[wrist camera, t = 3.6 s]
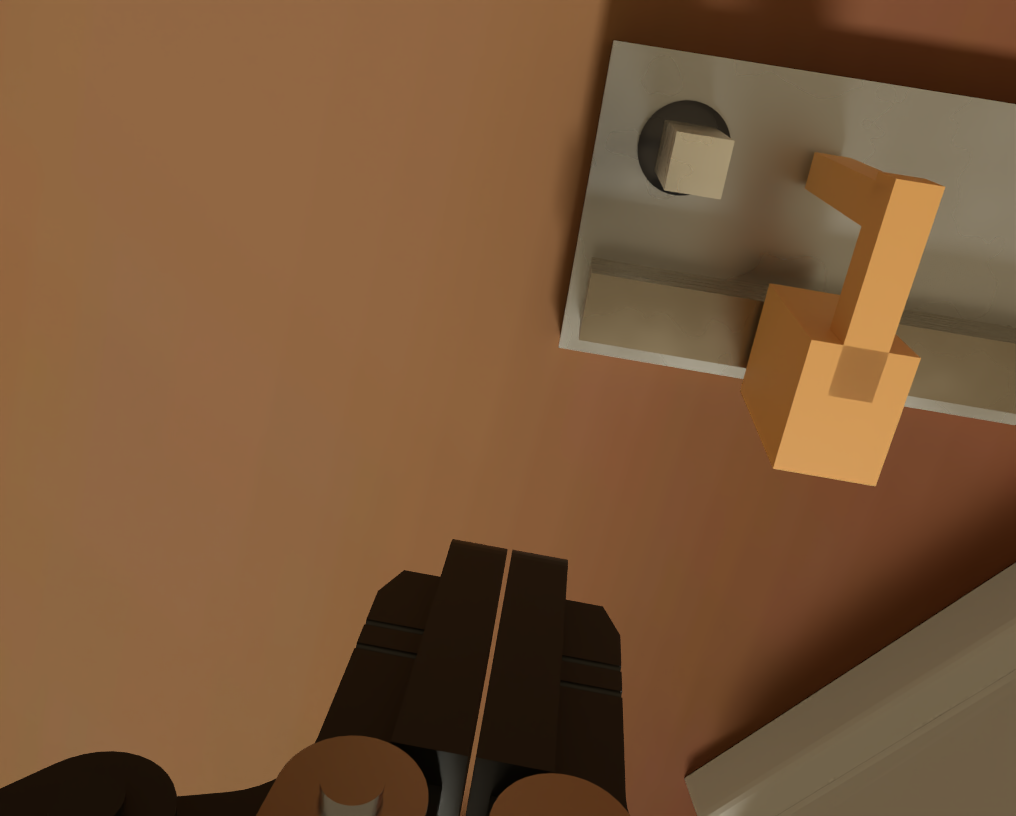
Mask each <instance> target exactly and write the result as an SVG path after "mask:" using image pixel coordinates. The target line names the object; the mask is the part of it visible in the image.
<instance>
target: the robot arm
mask: <svg viewBox="0 0 1016 816" xmlns="http://www.w3.org/2000/svg"><path fill="white" fill-rule="evenodd" d="M506 555H507V549H504V548H499V547H493V546H488V545H482V544H477V543H471V542H466V541H460V540H455V539H453V540H452V542H451V545H450V548H449V551H448V554H447V558H446V561H445V564H444V567H443V571H442V574H441V577H438V576H433V575H427V574H422V573H417V572H411V571H406V570H404V571H403V572H401V573H400V574H399V575H398V576H396V577H395V578H394V579H393V580H391V581H390V582H389V583H388V584H386V585H385V586H384V587H383V588H381V589H380V590H379V591H378V593H377V595H376V597H375V600H374V602H373V605H372V607H371V610H370V612H369V614H368V617H367V620H366V624H364V627H363V629H362V631H361V634H360V636H359V639H358V641H357V645H356V648H354V651H353V653H352V656H351V658H350V660H349V663H348V665H347V668H346V670H345V673H344V675H343V677H342V680H341V682H340V685H339V687H338V690H337V692H336V694H335V697H334V699H333V702H332V704H331V707H330V709H329V711H328V714H327V716H326V719H325V721H324V724H323V726H322V728H321V731H320V733H319V736H318V738H317V740H316V742H315V743H314V744H312V745H310V746H308V747H306V748H305V749H303V750H301V751H300V752H299V753H297V754H296V755H295V756H293V757H292V758H291V759H290V760H289V761H288V762H287V763H286V765H285V766H284V767H283V769H282V770H281V772H280V773H279V775H278V777H277V778H276V779H274V780H272V781H270V782H267V783H265V784H262V785H260V786H256V787H253V788H249V789H245V790H239V791H232V792H224V793H212V794H201V795H189V796H178V797H177V794H176V791H175V787H174V784H173V782H172V781H171V779H170V777H169V776H168V774H167V773H166V772H165V771H164V770H163V769H162V768H161V767H160V766H158V765H157V764H155V763H154V762H152V761H151V760H148V759H146V758H144V757H141V756H139V755H134V754H130V753H125V752H114V751H111V752H95V753H89V754H83V755H79V756H76V757H72V758H68V759H66V760H63V761H61V762H58V763H56V764H53V765H51V766H49V767H47V768H44V769H42V770H40V771H38V772H36V773H34V774H31V775H29V776H27V777H25V778H23V779H20V780H18V781H16V782H14V783H12V784H9V785H7V786H5V787H3V788H1V789H0V816H460V812H461V806H462V801H463V795H464V790H465V784H466V779H467V774H468V768H469V763H470V757H471V752H472V746H473V741H474V736H475V730H476V725H477V719H478V714H479V708H480V703H481V698H482V692H483V687H484V681H485V676H486V670H487V664H488V659H489V653H490V647H491V642H492V636H493V630H494V624H495V619H496V613H497V607H498V601H499V596H500V590H501V584H502V578H503V573H504V567H505V561H506ZM567 569H568V560H566V559H560V558H555V557H549V556H544V555H538V554H533V553H527V552H522V551H516V550H512V556H511V562H510V567H509V573H508V579H507V584H506V590H505V596H504V601H503V607H502V613H501V618H500V624H499V630H498V635H497V641H496V646H495V652H494V658H493V663H492V669H491V675H490V680H489V686H488V692H487V697H486V703H485V709H484V714H483V720H482V726H481V731H480V737H479V743H478V748H477V754H476V760H475V765H474V771H473V777H472V782H471V788H470V794H469V799H468V805H467V811H466V816H630V815H629V812H628V809H627V803H626V793H625V764H624V734H623V704H622V698H621V694H622V675H621V672H620V670H621V645H620V634H619V633H618V631H617V629H616V628H615V626H614V624H613V623H612V621H611V619H610V618H609V616H608V614H607V613H606V611H605V609H604V608H603V606H597V605H592V604H586V603H581V602H575V601H570V600H566V585H567Z"/></svg>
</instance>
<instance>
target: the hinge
mask: <svg viewBox="0 0 1016 816" xmlns="http://www.w3.org/2000/svg"><path fill="white" fill-rule="evenodd" d="M684 779H685V782H686V785H687V787H688V790H689V793H690V796H691V799H692V802H693V805H694V808H695V811H696V814H697V816H1016V563H1014V564H1013V565H1011V566H1010V567H1008V568H1007V569H1005V570H1004V571H1002V572H1000V573H999V574H997V575H996V576H994V577H993V578H991V579H990V580H988V581H987V582H985V583H984V584H982V585H980V586H979V587H977V588H976V589H974V590H973V591H971V592H970V593H968V594H967V595H965V596H964V597H962V598H961V599H959V600H957V601H956V602H954V603H953V604H951V605H950V606H948V607H947V608H945V609H944V610H942V611H941V612H939V613H937V614H936V615H934V616H933V617H931V618H930V619H928V620H927V621H925V622H924V623H922V624H921V625H919V626H918V627H916V628H914V629H913V630H911V631H910V632H908V633H907V634H905V635H904V636H902V637H901V638H899V639H898V640H896V641H894V642H893V643H891V644H890V645H888V646H887V647H885V648H884V649H882V650H881V651H879V652H878V653H876V654H875V655H873V656H871V657H870V658H868V659H867V660H865V661H864V662H862V663H861V664H859V665H858V666H856V667H855V668H853V669H851V670H850V671H848V672H847V673H845V674H844V675H842V676H841V677H839V678H838V679H836V680H835V681H833V682H831V683H830V684H828V685H827V686H825V687H824V688H822V689H821V690H819V691H818V692H816V693H815V694H813V695H812V696H810V697H808V698H807V699H805V700H804V701H802V702H801V703H799V704H798V705H796V706H795V707H793V708H792V709H790V710H788V711H787V712H785V713H784V714H782V715H781V716H779V717H778V718H776V719H775V720H773V721H772V722H770V723H769V724H767V725H765V726H764V727H762V728H761V729H759V730H758V731H756V732H755V733H753V734H752V735H750V736H749V737H747V738H745V739H744V740H742V741H741V742H739V743H738V744H736V745H735V746H733V747H732V748H730V749H729V750H727V751H725V752H724V753H722V754H721V755H719V756H718V757H716V758H715V759H713V760H712V761H710V762H709V763H707V764H706V765H704V766H702V767H701V768H699V769H698V770H696V771H695V772H693V773H692V774H690V775H689V776H687V777H686V778H684Z"/></svg>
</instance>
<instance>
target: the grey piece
mask: <svg viewBox="0 0 1016 816" xmlns="http://www.w3.org/2000/svg"><path fill="white" fill-rule="evenodd" d="M815 152H818V153H824V154H830V155H836V156H843V157H849V158H852V159H855V160H857V161H859V162H862V163H864V164H866V165H869V166H871V167H873V168H876V169H878V170H881V171H883V172H887V173H893V174H899V175H906V176H912V177H918V178H924V179H927V180H930V181H932V182H935V183H937V184H940V185H942V186H945V190H944V193H943V195H942V198H941V201H940V204H939V207H938V210H937V213H936V216H935V219H934V222H933V225H932V228H931V231H930V234H929V237H928V240H927V243H926V246H925V248H924V251H923V254H922V257H921V260H920V263H919V266H918V269H917V272H916V275H915V278H914V281H913V284H912V287H911V290H910V293H909V296H908V299H907V301H906V304H905V307H904V310H903V313H902V316H901V319H900V322H899V325H898V328H897V331H896V335H897V336H898V337H899V338H900V339H901V340H902V341H903V342H904V343H905V344H907V345H908V346H909V347H910V348H911V349H912V350H913V351H914V352H915V353H916V354H917V355H918V356H919V357H920V358H921V360H920V363H919V365H918V368H917V371H916V374H915V377H914V379H913V382H912V385H911V388H910V391H909V393H908V396H907V399H906V402H905V405H904V406H906V407H911V408H917V409H923V410H929V411H935V412H941V413H947V414H953V415H959V416H964V417H970V418H976V419H982V420H988V421H994V422H1000V423H1006V424H1011V425H1016V104H1012V103H1005V102H999V101H993V100H986V99H980V98H974V97H968V96H961V95H955V94H949V93H942V92H936V91H930V90H924V89H917V88H911V87H905V86H898V85H892V84H886V83H880V82H873V81H867V80H861V79H854V78H848V77H842V76H835V75H829V74H823V73H817V72H810V71H804V70H798V69H791V68H785V67H779V66H773V65H766V64H760V63H754V62H747V61H741V60H735V59H729V58H722V57H716V56H710V55H703V54H697V53H691V52H684V51H678V50H672V49H666V48H659V47H653V46H647V45H640V44H634V43H628V42H622V41H615V40H613V43H612V49H611V54H610V60H609V65H608V71H607V77H606V82H605V88H604V93H603V99H602V105H601V110H600V116H599V121H598V127H597V133H596V138H595V144H594V149H593V155H592V160H591V166H590V172H589V177H588V183H587V188H586V194H585V200H584V205H583V211H582V216H581V222H580V228H579V233H578V239H577V244H576V250H575V256H574V261H573V267H572V272H571V278H570V283H569V289H568V295H567V300H566V306H565V311H564V317H563V323H562V328H561V334H560V341H559V348H564V349H570V350H576V351H582V352H588V353H594V354H600V355H606V356H611V357H617V358H623V359H629V360H635V361H641V362H647V363H653V364H658V365H664V366H670V367H676V368H682V369H688V370H694V371H700V372H706V373H711V374H717V375H723V376H729V377H735V378H741V379H744V375H745V371H746V368H747V364H748V360H749V357H750V353H751V349H752V346H753V342H754V338H755V335H756V331H757V327H758V324H759V320H760V316H761V313H762V309H763V305H764V302H765V298H766V294H767V291H768V287H769V283H771V284H777V285H783V286H789V287H795V288H801V289H807V290H813V291H819V292H825V293H831V294H837V295H840V294H841V291H842V288H843V284H844V281H845V278H846V275H847V271H848V268H849V265H850V262H851V258H852V255H853V252H854V249H855V245H856V242H857V239H858V236H859V232H860V229H861V226H860V225H859V224H857V223H856V222H854V221H853V220H851V219H850V218H848V217H847V216H845V215H844V214H842V213H841V212H839V211H838V210H836V209H835V208H833V207H832V206H830V205H829V204H827V203H826V202H824V201H823V200H821V199H820V198H818V197H817V196H815V195H814V194H812V193H811V192H809V191H808V190H806V189H805V185H806V182H807V178H808V174H809V171H810V167H811V164H812V160H813V156H814V153H815Z"/></svg>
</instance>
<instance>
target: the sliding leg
mask: <svg viewBox="0 0 1016 816" xmlns="http://www.w3.org/2000/svg"><path fill="white" fill-rule="evenodd" d="M805 189H806V190H808V191H809V192H811V193H812V194H814V195H815V196H817V197H818V198H820V199H821V200H823V201H824V202H826V203H827V204H829V205H830V206H832V207H833V208H835V209H836V210H838V211H839V212H841V213H842V214H844V215H845V216H847V217H848V218H850V219H851V220H853V221H854V222H856V223H857V224H859V225H860V226H861V229H860V232H859V236H858V239H857V242H856V245H855V249H854V252H853V255H852V258H851V262H850V265H849V268H848V271H847V275H846V278H845V281H844V284H843V288H842V291H841V294H840V295H837V294H831V293H825V292H819V291H813V290H807V289H801V288H795V287H789V286H783V285H777V284H771V283H769V287H768V291H767V294H766V298H765V302H764V305H763V309H762V313H761V316H760V320H759V324H758V327H757V331H756V335H755V338H754V342H753V346H752V349H751V353H750V357H749V360H748V364H747V368H746V371H745V375H744V379H743V382H742V386H741V390H740V392H741V394H742V396H743V399H744V401H745V403H746V406H747V408H748V411H749V413H750V415H751V418H752V420H753V422H754V425H755V427H756V430H757V432H758V434H759V437H760V439H761V441H762V444H763V446H764V448H765V451H766V453H767V456H768V458H769V460H770V463H771V465H772V467H773V469H778V470H784V471H790V472H796V473H802V474H807V475H813V476H819V477H825V478H831V479H836V480H842V481H848V482H854V483H859V484H865V485H871V486H876V483H877V481H878V478H879V475H880V472H881V469H882V466H883V464H884V461H885V458H886V455H887V452H888V450H889V447H890V444H891V441H892V438H893V436H894V433H895V430H896V427H897V424H898V422H899V419H900V416H901V413H902V410H903V407H904V405H905V402H906V399H907V396H908V393H909V391H910V388H911V385H912V382H913V379H914V377H915V374H916V371H917V368H918V365H919V363H920V360H921V358H920V357H919V356H918V355H917V354H916V353H915V352H914V351H913V350H912V349H911V348H910V347H909V346H908V345H907V344H905V343H904V342H903V341H902V340H901V339H900V338H899V337H898V336H897V335H896V331H897V328H898V325H899V322H900V319H901V316H902V313H903V310H904V307H905V304H906V301H907V299H908V296H909V293H910V290H911V287H912V284H913V281H914V278H915V275H916V272H917V269H918V266H919V263H920V260H921V257H922V254H923V251H924V248H925V246H926V243H927V240H928V237H929V234H930V231H931V228H932V225H933V222H934V219H935V216H936V213H937V210H938V207H939V204H940V201H941V198H942V195H943V193H944V190H945V186H942V185H940V184H937V183H935V182H932V181H930V180H927V179H924V178H918V177H912V176H906V175H899V174H893V173H887V172H883V171H881V170H878V169H876V168H873V167H871V166H869V165H866V164H864V163H862V162H859V161H857V160H855V159H852V158H849V157H843V156H836V155H830V154H824V153H818V152H815V153H814V156H813V160H812V164H811V167H810V171H809V174H808V178H807V182H806V185H805Z"/></svg>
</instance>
